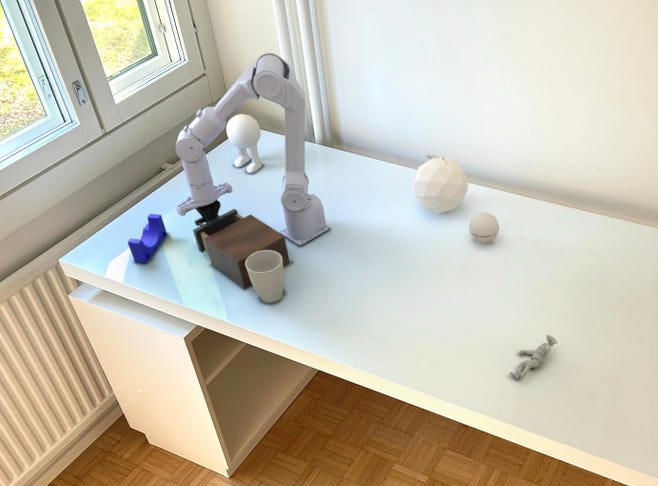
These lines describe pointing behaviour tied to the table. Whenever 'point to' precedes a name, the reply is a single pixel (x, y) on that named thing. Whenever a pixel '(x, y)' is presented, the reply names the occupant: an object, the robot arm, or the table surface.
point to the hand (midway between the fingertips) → (212, 227)
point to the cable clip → (148, 239)
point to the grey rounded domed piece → (484, 227)
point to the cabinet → (243, 247)
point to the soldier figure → (534, 357)
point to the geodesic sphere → (440, 184)
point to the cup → (266, 274)
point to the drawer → (213, 227)
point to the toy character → (245, 140)
